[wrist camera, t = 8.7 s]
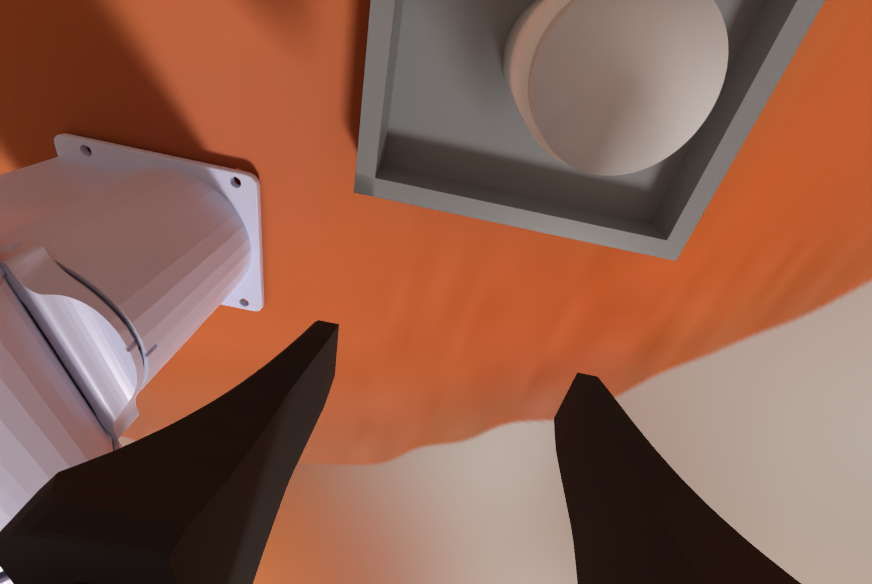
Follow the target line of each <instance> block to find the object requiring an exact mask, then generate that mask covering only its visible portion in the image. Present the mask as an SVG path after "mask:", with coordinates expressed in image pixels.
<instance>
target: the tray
mask: <svg viewBox="0 0 872 584" xmlns="http://www.w3.org/2000/svg"><path fill="white" fill-rule="evenodd" d="M533 1H534V0H371V2H370V14H369V25H368V37H367V48H366V60H365V71H364V82H363V94H362V105H361V117H360V128H359V140H358V151H357V163H356V174H355V186H354V193H359V194H364V195H369V196H373V197H378V198H383V199H387V200H392V201H397V202H401V203H406V204H411V205H416V206H420V207H425V208H430V209H434V210H439V211H444V212H449V213H453V214H458V215H463V216H467V217H472V218H477V219H481V220H486V221H491V222H496V223H500V224H505V225H510V226H514V227H519V228H524V229H528V230H533V231H538V232H543V233H547V234H552V235H557V236H561V237H566V238H571V239H575V240H580V241H585V242H590V243H594V244H599V245H604V246H608V247H613V248H618V249H623V250H627V251H632V252H637V253H641V254H646V255H651V256H655V257H660V258H665V259H670V260H674V261H676V260H677V258H678V256H679V255H680V253H681V251H682V249H683V248H684V246H685V244H686V242H687V241H688V239H689V237H690V235H691V234H692V232H693V230H694V228H695V227H696V225H697V223H698V221H699V220H700V218H701V216H702V214H703V213H704V211H705V209H706V207H707V206H708V204H709V202H710V200H711V199H712V197H713V195H714V193H715V192H716V190H717V188H718V186H719V185H720V183H721V181H722V179H723V178H724V176H725V174H726V172H727V171H728V169H729V167H730V165H731V164H732V162H733V160H734V158H735V157H736V155H737V153H738V151H739V150H740V148H741V146H742V144H743V143H744V141H745V139H746V137H747V136H748V134H749V132H750V130H751V129H752V127H753V125H754V123H755V122H756V120H757V118H758V116H759V115H760V113H761V111H762V109H763V108H764V106H765V104H766V102H767V101H768V99H769V97H770V95H771V94H772V92H773V90H774V89H775V87H776V85H777V83H778V82H779V80H780V78H781V76H782V75H783V73H784V71H785V69H786V68H787V66H788V64H789V62H790V61H791V59H792V57H793V55H794V54H795V52H796V50H797V48H798V47H799V45H800V43H801V41H802V40H803V38H804V36H805V34H806V33H807V31H808V29H809V27H810V26H811V24H812V22H813V20H814V19H815V17H816V15H817V13H818V12H819V10H820V8H821V6H822V5H823V3H824V1H825V0H714V1H715V2H716V4H717V6H718V8H719V10H720V12H721V14H722V17H723V20H724V23H725V26H726V30H727V36H728V63H727V70H726V74H725V79H724V83H723V85H722V88H721V91H720V94H719V96H718V98H717V100H716V103H715V105H714V107H713V109H712V110H711V112H710V113H709V115H708V117H707V118H706V120H705V121H704V123H703V124H702V125H701V127H700V128H699V129H698V130H697V132H696V133H695V134H694V135H693V136H692V137H691V138H690V139H689V140H688V141H687V142H686V143H685V144H684V145H683V146H682V147H680V148H679V149H678V150H677V151H675V152H674V153H673V154H671V155H670V156H669V157H667V158H665V159H664V160H662V161H660V162H659V163H657V164H655V165H653V166H650V167H648V168H646V169H643V170H640V171H637V172H634V173H629V174H624V175H615V176H603V175H595V174H589V173H586V172H583V171H580V170H578V169H576V168H574V167H572V166H570V165H567V164H565V163H563V162H561V161H559V160H557V159H555V158H554V157H552V156H551V155H549V154H548V153H547V152H546V151H545V150H544V149H543V148H542V147H541V146H540V145H539V144H538V143H537V141H536V140H535V139H534V138H533V136H532V134H531V132H530V131H529V129H528V127H527V125H526V123H525V121H524V119H523V118H522V116H521V114H520V112H519V110H518V108H517V106H516V104H515V102H514V100H513V99H512V97H511V95H510V93H509V91H508V88H507V86H506V83H505V79H504V74H503V52H504V47H505V43H506V40H507V37H508V34H509V32H510V30H511V28H512V26H513V24H514V23H515V21H516V19H517V18H518V17H519V15H520V14H521V13H522V11H523V10H524V9H525V8H526V7H527V6H528V5H529V4H531V3H532V2H533Z"/></svg>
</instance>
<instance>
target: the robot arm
mask: <svg viewBox="0 0 872 584" xmlns="http://www.w3.org/2000/svg"><path fill="white" fill-rule="evenodd" d="M54 145H55V148H56V151H57V155H58V157H55V158H52V159H49V160H46V161H42V162H39V163H36V164H33V165H30V166H27V167H23V168H20V169H17V170H14V171H11V172H8V173H4V174H1V175H0V584H253V581H254V578H255V575H256V572H257V569H258V566H259V563H260V560H261V557H262V555H263V551H264V549H265V546H266V543H267V540H268V537H269V534H270V532H271V529H272V526H273V523H274V520H275V518H276V515H277V512H278V509H279V507H280V503H281V501H282V498H283V496H284V493H285V490H286V487H287V485H288V482H289V480H290V478H291V476H292V473H293V471H294V469H295V467H296V465H297V463H298V461H299V458H300V456H301V454H302V452H303V450H304V448H305V446H306V444H307V442H308V439H309V437H310V435H311V433H312V431H313V429H314V427H315V425H316V423H317V420H318V418H319V416H320V414H321V412H322V410H323V408H324V405H325V402H326V400H327V397H328V394H329V391H330V388H331V385H332V382H333V379H334V376H335V366H336V353H337V341H338V329H339V324H334V323H329V322H324V321H319V320H318V321H316V322H315V323H313V324H312V325H311V326H310V327H309V328H308V329H307V330H306V331H305V332H304V333H303V334H302V335H301V336H299V337H298V338H297V339H296V340H295V341H294V342H293V343H292V344H290V345H289V346H288V347H287V348H286V349H285V350H283V351H282V352H281V353H280V354H278V355H277V356H276V357H275V358H274V359H272V360H271V361H270V362H269V363H267V364H266V365H265V366H264V367H262V368H261V369H259V370H258V371H257V372H255V373H254V374H253V375H251V376H250V377H249V378H247V379H246V380H244V381H243V382H242V383H240V384H239V385H237V386H236V387H234V388H233V389H231V390H230V391H228V392H227V393H225V394H224V395H222V396H221V397H219V398H217V399H216V400H214V401H212V402H211V403H209V404H207V405H206V406H204V407H202V408H200V409H199V410H197V411H195V412H193V413H192V414H190V415H188V416H186V417H184V418H183V419H181V420H179V421H177V422H175V423H173V424H171V425H169V426H167V427H165V428H163V429H161V430H159V431H157V432H155V433H152V434H150V435H148V436H146V437H144V438H142V439H140V440H138V441H135V442H133V443H131V444H129V445H126V446H124V447H122V446H121V444H120V443H119V441H118V439H119V437H120V436H121V435H122V434H123V433H124V432H125V430H126V429H127V428H128V427H129V426H130V425H131V424H132V422H133V421H134V420H135V419H136V418H137V417H138V415H139V412H138V410H137V407H136V397H137V395H138V393H139V392H140V391H141V390H142V389H143V388H144V387H145V386H146V385H147V384H148V382H149V381H150V380H151V379H152V378H153V377H154V376H155V375H156V374H157V373H158V372H159V370H160V369H161V368H162V367H163V366H164V365H165V364H166V363H167V362H168V361H169V360H170V358H171V357H172V356H173V355H174V354H175V353H176V352H177V351H178V350H179V349H180V348H181V346H182V345H183V344H184V343H185V342H186V341H187V340H188V339H189V338H190V337H191V336H192V334H193V333H194V332H195V331H196V330H197V329H198V328H199V327H200V326H201V325H202V324H203V322H204V321H205V320H206V319H207V318H208V317H209V316H210V315H211V314H212V313H213V312H214V310H215V309H216V308H217V307H218V306H219V305H220V304H221V305H226V306H231V307H236V308H241V309H246V310H251V311H259V310H260V309H261V308H262V307H263V306H264V279H263V254H262V228H261V202H260V183H259V180H258V178H257V177H256V176H255V175H254V174H253V173H250V172H246V171H242V170H237V169H232V168H228V167H223V166H218V165H213V164H209V163H204V162H199V161H195V160H190V159H185V158H180V157H176V156H171V155H166V154H162V153H157V152H152V151H148V150H143V149H138V148H133V147H129V146H124V145H119V144H115V143H110V142H105V141H100V140H96V139H91V138H86V137H82V136H77V135H72V134H68V133H63V134H59V135H57V136H55V138H54ZM87 146H88V147H89V148H90V150H91V152H92V153H90V152H89V151H88V149H87ZM234 177H237V178H238V179H239V180H240V181H241V185H239V184H237V183H236V182H235V180H234ZM243 299H246V300H247V301H248V303H247V302H245V301H244V300H243ZM554 424H555V442H556V452H557V458H558V463H559V468H560V473H561V479H562V483H563V488H564V493H565V498H566V503H567V508H568V513H569V518H570V523H571V529H572V534H573V541H574V550H575V560H576V570H577V580H578V584H801V583H799V582H798V581H797V580H795V579H794V578H793V577H792V576H790V575H789V574H788V573H786V572H785V571H784V570H783V569H781V568H780V567H779V566H778V565H776V564H775V563H774V562H773V561H771V560H770V559H769V558H768V557H766V556H765V555H764V554H763V553H761V552H760V551H759V550H758V549H757V548H755V547H754V546H753V545H752V544H751V543H749V542H748V541H747V540H746V539H745V538H743V537H742V536H741V535H740V534H739V533H738V532H737V531H736V530H735V529H733V528H732V527H731V526H730V525H729V524H728V523H727V522H726V521H724V520H723V519H722V518H721V517H720V516H719V515H718V514H717V513H716V512H715V511H714V510H712V509H711V508H710V507H709V506H708V505H707V504H706V503H705V502H704V501H703V500H702V499H701V498H700V497H699V496H698V495H697V494H696V493H695V492H694V491H693V490H692V489H691V488H690V487H689V486H688V485H687V484H686V483H685V482H684V481H683V480H682V479H681V478H680V477H679V475H678V474H677V473H676V472H675V471H674V470H673V469H672V468H671V467H670V466H669V465H668V464H667V462H666V461H665V460H664V459H663V458H662V457H661V455H660V454H659V453H658V452H657V451H656V450H655V449H654V447H653V446H652V445H651V444H650V443H649V441H648V440H647V439H646V438H645V437H644V435H643V434H642V433H641V432H640V430H639V429H638V428H637V427H636V425H635V424H634V423H633V422H632V421H631V419H630V418H629V417H628V415H627V414H626V413H625V411H624V410H623V409H622V408H621V406H620V405H619V404H618V402H617V401H616V400H615V398H614V397H613V396H612V394H611V393H610V392H609V391H608V389H607V388H606V387H605V385H604V384H603V383H602V382H601V380H600V379H599V378H598V377H596V376H591V375H586V374H581V373H577V375H576V377H575V379H574V380H573V382H572V384H571V386H570V388H569V390H568V392H567V394H566V396H565V398H564V400H563V402H562V404H561V406H560V408H559V410H558V412H557V414H556V416H555V418H554Z"/></svg>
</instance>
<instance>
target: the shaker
mask: <svg viewBox="0 0 872 584" xmlns="http://www.w3.org/2000/svg"><path fill="white" fill-rule="evenodd" d="M727 63H728V36H727V30H726V26H725V23H724V20H723V17H722V14H721V12H720V10H719V8H718V6H717V4H716V2H715V1H714V0H534V1H533V2H532V3H531V4H529V5H528V6H527V7H526V8H525V9H524V10H523V11H522V13H521V14H520V15H519V17H518V18H517V19H516V21H515V23H514V24H513V26H512V28H511V30H510V32H509V34H508V37H507V40H506V43H505V47H504V52H503V74H504V79H505V83H506V86H507V88H508V91H509V93H510V95H511V97H512V99H513V100H514V102H515V104H516V106H517V108H518V110H519V112H520V114H521V116H522V118H523V119H524V121H525V123H526V125H527V127H528V129H529V131H530V132H531V134H532V136H533V138H534V139H535V140H536V141H537V143H538V144H539V145H540V146H541V147H542V148H543V149H544V150H545V151H546V152H547V153H548V154H549V155H551V156H552V157H554V158H555V159H557V160H559V161H561V162H563V163H565V164H567V165H570V166H572V167H574V168H576V169H578V170H580V171H583V172H586V173H589V174H595V175H603V176H615V175H624V174H629V173H634V172H637V171H640V170H643V169H646V168H648V167H650V166H653V165H655V164H657V163H659V162H660V161H662V160H664V159H665V158H667V157H669V156H670V155H671V154H673V153H674V152H675V151H677V150H678V149H679V148H680V147H682V146H683V145H684V144H685V143H686V142H687V141H688V140H689V139H690V138H691V137H692V136H693V135H694V134H695V133H696V132H697V130H698V129H699V128H700V127H701V125H702V124H703V123H704V121H705V120H706V118H707V117H708V115H709V113H710V112H711V110H712V109H713V107H714V105H715V103H716V100H717V98H718V96H719V94H720V91H721V88H722V85H723V83H724V79H725V74H726V70H727Z"/></svg>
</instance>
